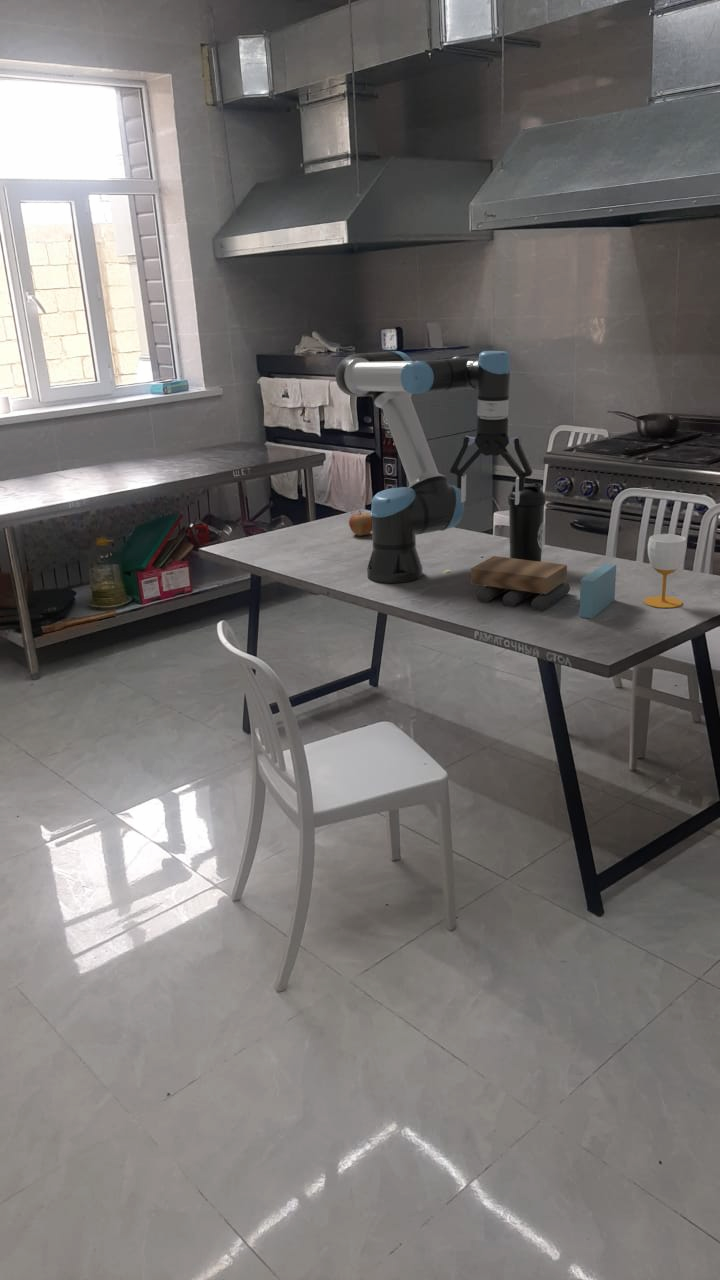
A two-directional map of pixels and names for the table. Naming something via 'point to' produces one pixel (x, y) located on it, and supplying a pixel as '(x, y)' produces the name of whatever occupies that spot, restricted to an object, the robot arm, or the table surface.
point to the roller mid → (515, 597)
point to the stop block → (597, 590)
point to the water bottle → (527, 522)
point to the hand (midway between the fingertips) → (490, 502)
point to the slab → (519, 574)
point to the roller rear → (488, 593)
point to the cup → (665, 564)
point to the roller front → (550, 597)
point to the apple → (361, 524)
